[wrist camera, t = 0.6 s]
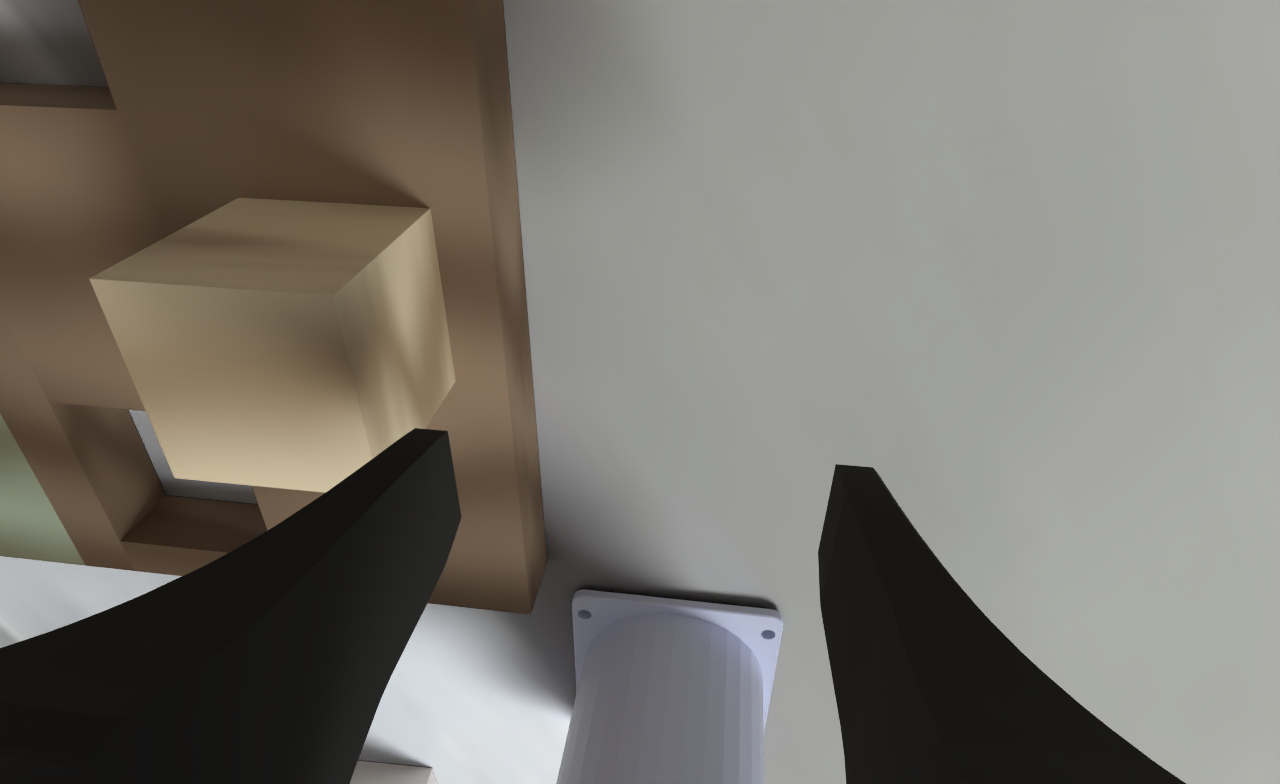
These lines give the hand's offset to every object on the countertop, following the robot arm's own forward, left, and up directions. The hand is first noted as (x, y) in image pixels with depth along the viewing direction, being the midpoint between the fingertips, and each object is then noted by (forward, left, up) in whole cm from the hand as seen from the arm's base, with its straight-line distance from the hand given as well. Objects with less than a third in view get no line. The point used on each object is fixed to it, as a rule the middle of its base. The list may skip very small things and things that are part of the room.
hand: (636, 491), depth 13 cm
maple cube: (0, +9, -7) cm, 11 cm away
